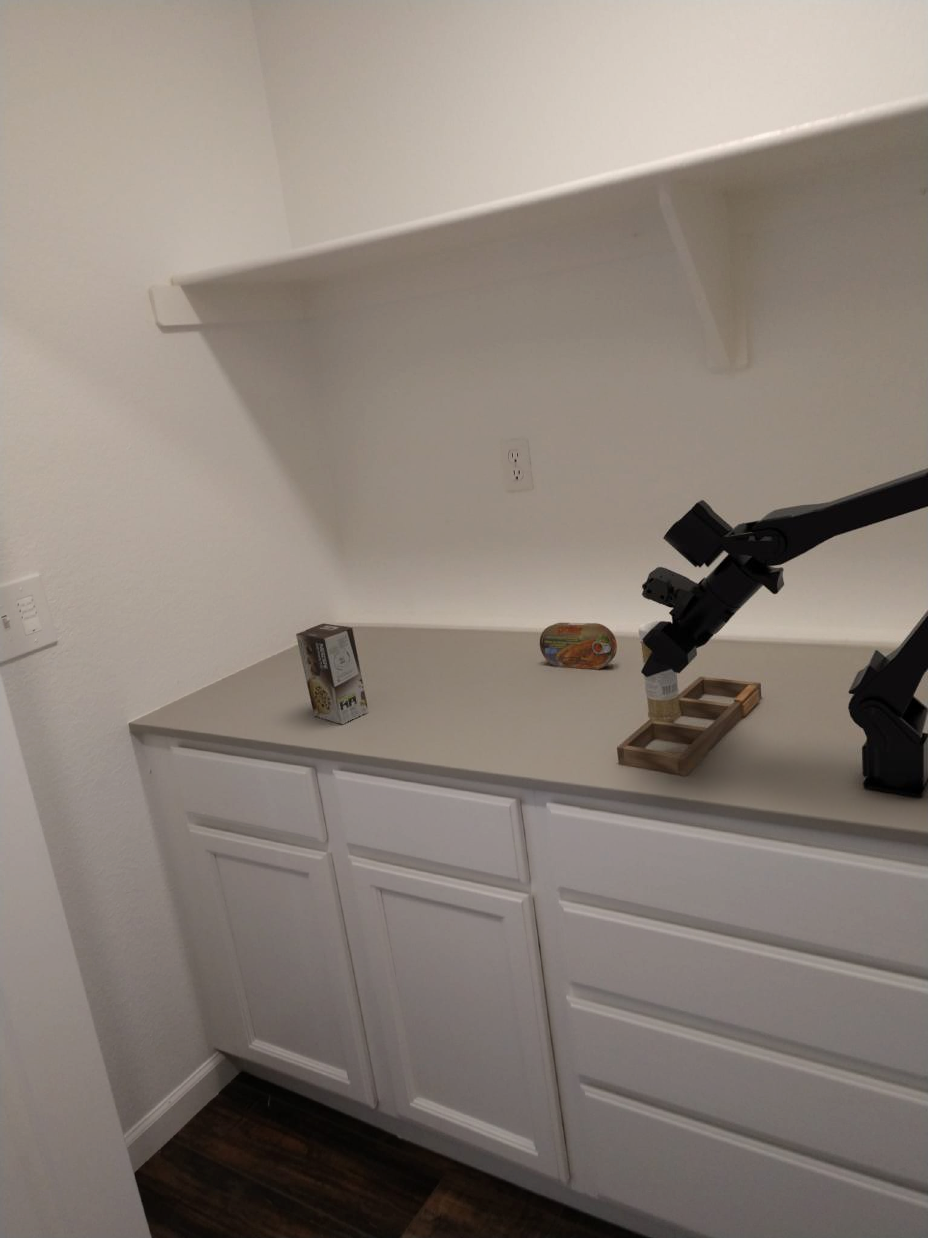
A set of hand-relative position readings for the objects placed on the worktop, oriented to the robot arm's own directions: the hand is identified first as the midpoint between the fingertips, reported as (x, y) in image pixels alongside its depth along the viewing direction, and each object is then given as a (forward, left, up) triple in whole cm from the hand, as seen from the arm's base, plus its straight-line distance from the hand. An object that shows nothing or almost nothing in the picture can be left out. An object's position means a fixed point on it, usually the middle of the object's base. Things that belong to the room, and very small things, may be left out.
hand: (650, 668), depth 117 cm
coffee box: (+60, +6, -13) cm, 61 cm away
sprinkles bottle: (-1, 0, -7) cm, 7 cm away
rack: (-1, -9, -13) cm, 16 cm away
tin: (+30, -28, -13) cm, 43 cm away
